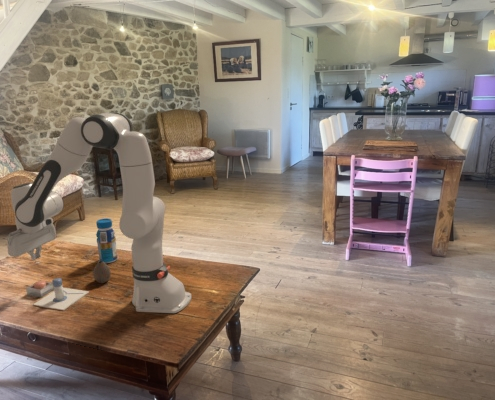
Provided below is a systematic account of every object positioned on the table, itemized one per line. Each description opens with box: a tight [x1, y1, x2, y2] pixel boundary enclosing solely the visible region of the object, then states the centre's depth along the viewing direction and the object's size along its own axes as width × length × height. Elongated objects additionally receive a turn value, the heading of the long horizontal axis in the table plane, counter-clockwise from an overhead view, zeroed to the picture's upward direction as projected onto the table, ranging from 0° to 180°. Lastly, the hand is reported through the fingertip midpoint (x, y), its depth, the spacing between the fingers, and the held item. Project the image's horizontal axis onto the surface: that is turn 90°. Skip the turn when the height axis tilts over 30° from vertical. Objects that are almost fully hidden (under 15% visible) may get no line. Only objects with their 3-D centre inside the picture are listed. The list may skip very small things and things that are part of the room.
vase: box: [92, 260, 112, 284], centre depth 164 cm, size 7×7×9 cm
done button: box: [33, 280, 46, 289], centre depth 155 cm, size 4×4×3 cm
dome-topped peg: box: [51, 277, 64, 301], centre depth 149 cm, size 3×3×8 cm
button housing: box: [25, 280, 54, 299], centre depth 156 cm, size 7×7×3 cm
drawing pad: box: [33, 287, 90, 312], centre depth 151 cm, size 14×14×1 cm
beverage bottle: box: [95, 218, 118, 264], centre depth 183 cm, size 8×8×20 cm
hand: (36, 258), depth 152 cm, fingers closed
